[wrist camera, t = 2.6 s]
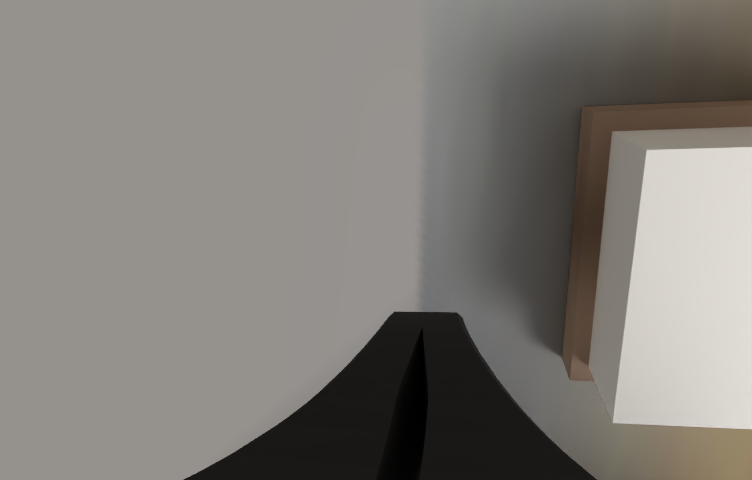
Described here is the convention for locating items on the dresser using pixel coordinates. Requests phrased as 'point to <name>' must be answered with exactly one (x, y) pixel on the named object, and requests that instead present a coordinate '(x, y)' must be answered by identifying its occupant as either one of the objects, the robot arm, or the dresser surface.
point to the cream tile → (676, 279)
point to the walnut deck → (593, 193)
